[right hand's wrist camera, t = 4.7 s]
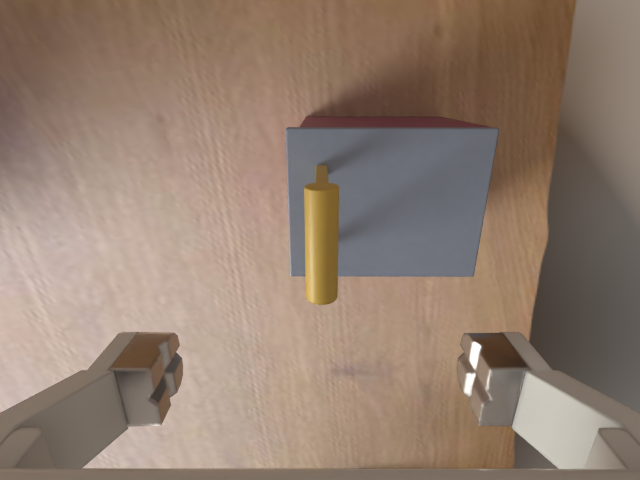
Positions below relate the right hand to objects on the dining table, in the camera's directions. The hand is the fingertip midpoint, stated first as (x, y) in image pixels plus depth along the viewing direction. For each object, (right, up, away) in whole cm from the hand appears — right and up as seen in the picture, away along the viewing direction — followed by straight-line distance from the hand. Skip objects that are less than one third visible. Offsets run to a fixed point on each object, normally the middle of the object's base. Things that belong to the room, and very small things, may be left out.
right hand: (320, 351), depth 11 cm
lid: (+4, +6, +14) cm, 16 cm away
